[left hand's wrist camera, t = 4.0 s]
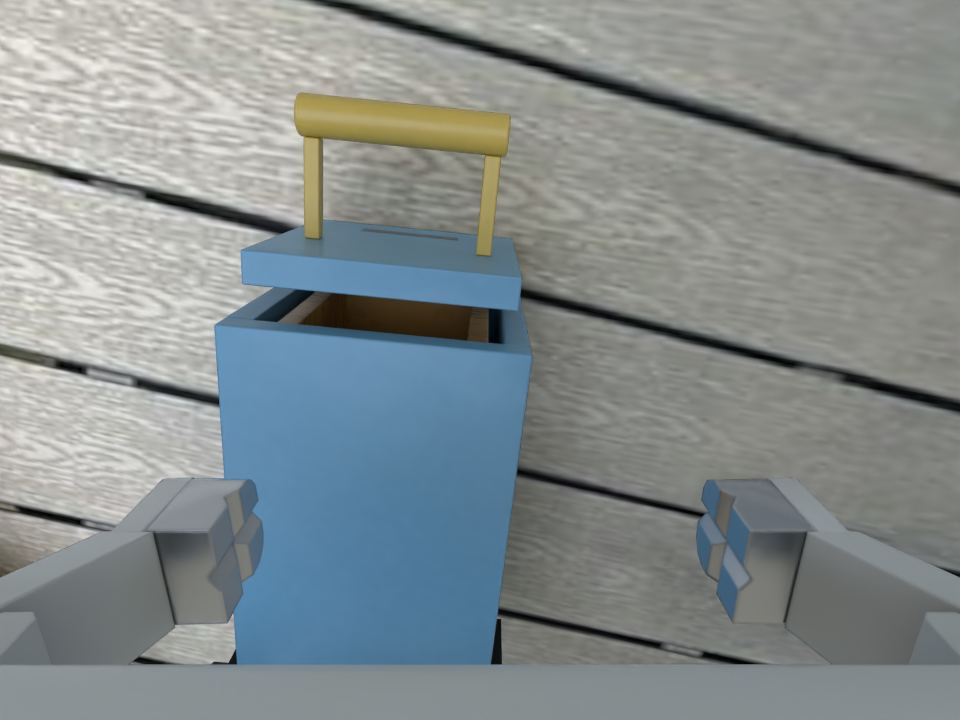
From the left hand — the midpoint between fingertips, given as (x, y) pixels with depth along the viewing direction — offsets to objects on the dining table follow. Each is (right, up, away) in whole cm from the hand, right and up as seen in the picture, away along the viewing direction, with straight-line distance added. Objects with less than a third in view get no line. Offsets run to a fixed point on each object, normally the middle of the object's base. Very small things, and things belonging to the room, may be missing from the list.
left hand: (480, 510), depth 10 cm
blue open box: (-4, -3, +23) cm, 24 cm away
